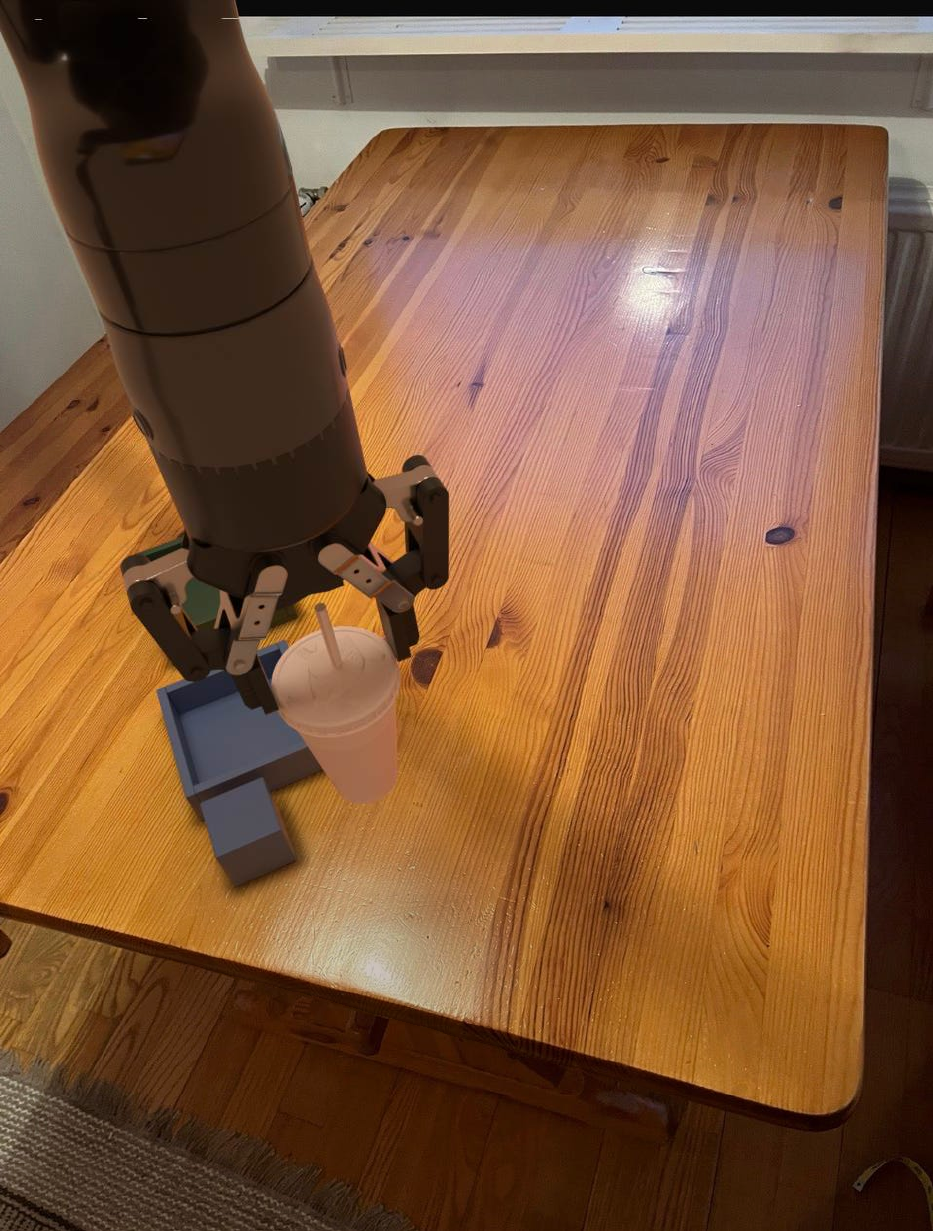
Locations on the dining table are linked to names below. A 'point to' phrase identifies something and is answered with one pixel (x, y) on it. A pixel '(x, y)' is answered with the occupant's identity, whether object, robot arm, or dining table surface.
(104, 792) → the dining table surface
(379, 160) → the dining table surface
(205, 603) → the green bin
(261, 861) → the blue block
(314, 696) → the smoothie
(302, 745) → the blue bin
